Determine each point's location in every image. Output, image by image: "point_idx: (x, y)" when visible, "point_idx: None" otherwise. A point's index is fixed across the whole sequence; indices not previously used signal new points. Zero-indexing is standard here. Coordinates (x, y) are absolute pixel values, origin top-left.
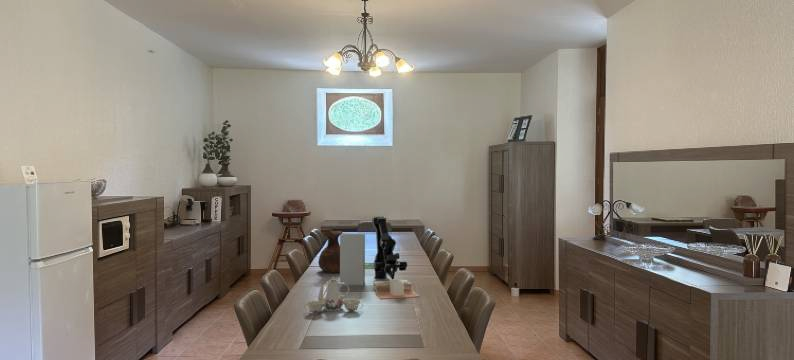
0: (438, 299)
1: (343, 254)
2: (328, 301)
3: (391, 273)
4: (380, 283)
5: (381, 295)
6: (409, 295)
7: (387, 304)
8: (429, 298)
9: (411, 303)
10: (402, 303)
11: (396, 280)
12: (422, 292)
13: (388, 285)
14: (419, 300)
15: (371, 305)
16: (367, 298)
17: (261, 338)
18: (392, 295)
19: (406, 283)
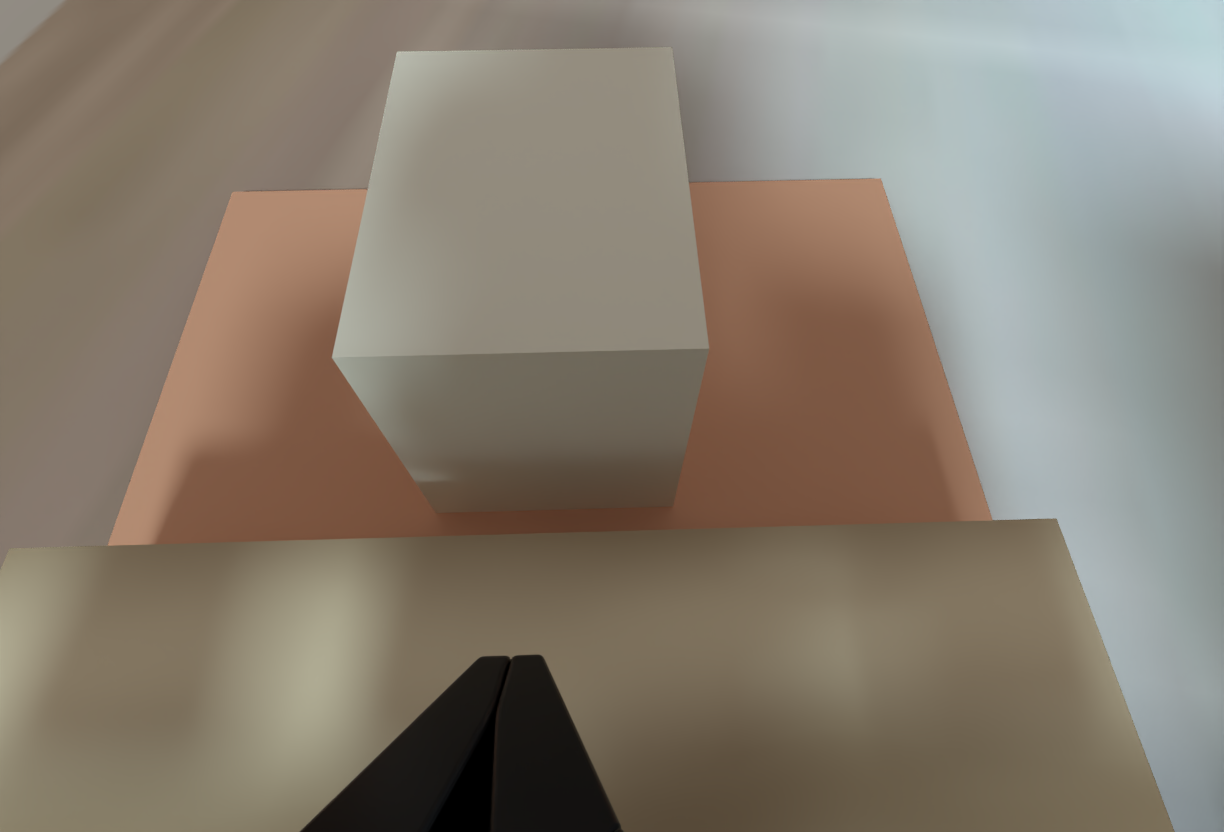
0: (71, 73)
1: None
2: None
3: (540, 805)
4: (977, 826)
5: (860, 315)
6: None
7: (783, 11)
8: (152, 121)
9: (489, 4)
10: (595, 16)
11: (510, 249)
12: (3, 435)
13: (714, 529)
14: (337, 74)
15: (978, 8)
16: (1090, 251)
17: None
18: None
19: (104, 642)
